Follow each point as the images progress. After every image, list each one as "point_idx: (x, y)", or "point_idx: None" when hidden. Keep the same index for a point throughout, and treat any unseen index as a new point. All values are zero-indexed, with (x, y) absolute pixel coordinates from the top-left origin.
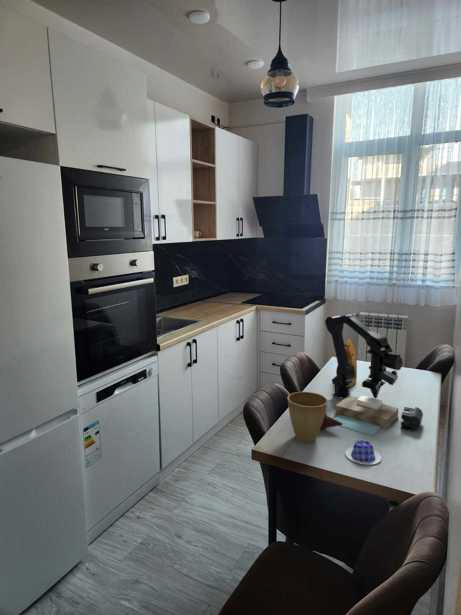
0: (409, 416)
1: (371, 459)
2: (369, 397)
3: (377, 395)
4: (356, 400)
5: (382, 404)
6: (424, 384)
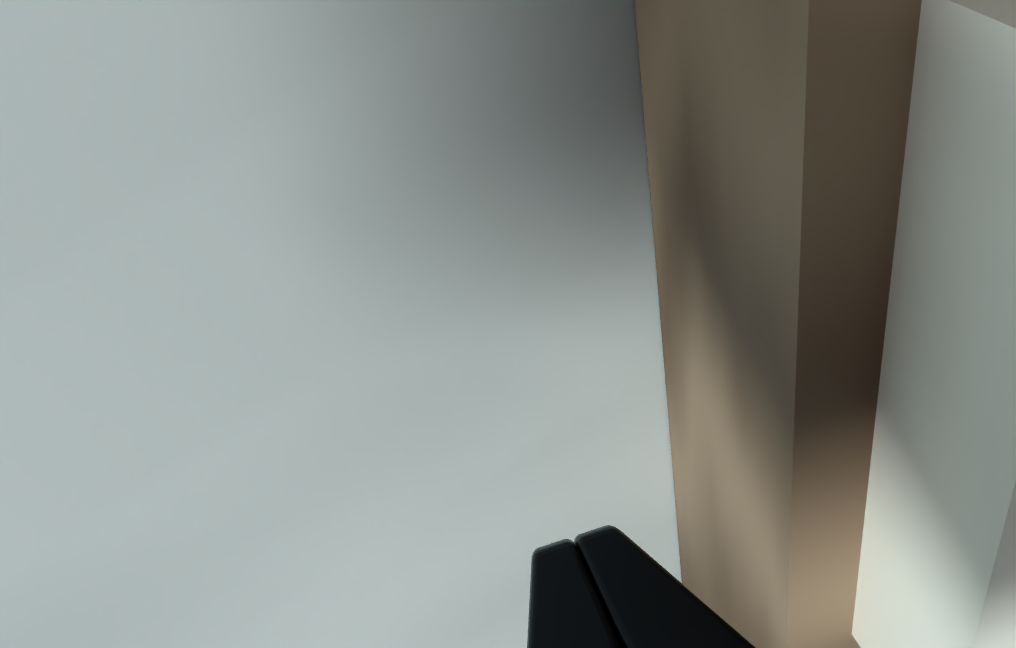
0: None
1: None
2: (999, 604)
3: (599, 632)
4: None
5: (866, 21)
6: None
